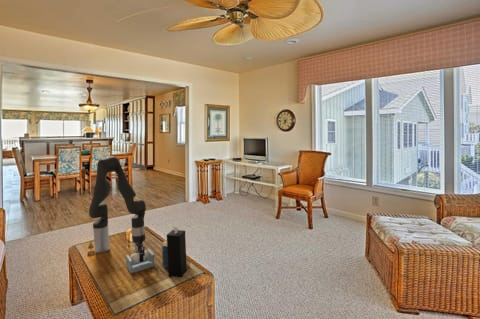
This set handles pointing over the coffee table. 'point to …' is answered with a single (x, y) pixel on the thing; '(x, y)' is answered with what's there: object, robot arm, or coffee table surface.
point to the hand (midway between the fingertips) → (140, 259)
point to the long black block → (176, 253)
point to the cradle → (140, 263)
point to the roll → (136, 257)
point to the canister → (165, 255)
